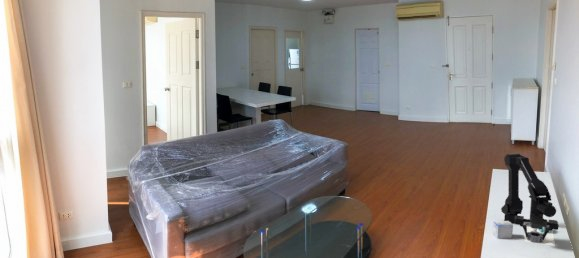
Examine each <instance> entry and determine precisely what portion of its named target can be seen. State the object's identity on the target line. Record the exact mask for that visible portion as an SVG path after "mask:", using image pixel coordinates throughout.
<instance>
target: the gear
mask: <svg viewBox="0 0 579 258" xmlns="http://www.w3.org/2000/svg"><path fill="white" fill-rule="evenodd" d="M527 240H529V241H531V242H536V243H535V244H537V243H539V242H543V234H540V233H539V232H533V231H531V232H527ZM531 242H530V243H531Z"/></svg>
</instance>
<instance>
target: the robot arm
mask: <svg viewBox="0 0 579 258" xmlns="http://www.w3.org/2000/svg"><path fill="white" fill-rule="evenodd" d="M503 160H504V164H505V166H506V168H507V170H508V195H507V197H506V199H505V201H504V205H503V206H502V207H501V208H500V210H501V213H502V214H503V215H504V219H503V221H509V222H511V223H512V224H513V225H514V224H515V225H518V226H520V227H522V228H523V232H524V231H525V235H526V237H527V226H528V225H527V224H530V227H531V228H536V229H542V227H545V228H544V233H543V240H544V238H545V237H546V235H547V233H548V232H549V231H550V230H551V231H558V230H559V227H560V226H559V222H558V220H557V219H556V220H555V219H546V218H544V216H545V217H547V218H552V217H554V216H555V215H556V213H557V208H556V207H555V206H554V205H553V202H551V201H552V198H551V197H552V196H551V193H550V191H549V188H548V187H547V185H546V184H545V182H544V181H542V180H541V179H539V177H538V176H537V174H536V172H535V170H534V168H533V167H532V165H531V163H530V161H529V160H530V159H529V157H526V156H525V155H522V154H520V153H507V154H505V156H504V159H503ZM520 170H521V172H522V174H523V175H524V177H525V180H526V181H527V183H528V185H527V189H528V190H527V191H528V192H529V196H528V198H530V209H529V218H525V216H523V215H521V214H522V212H523V208H524V207H523V205H524V203H523V202H524V201H523V200H521V198H520V196H519V195H520V194H519V192H520V188H519V185H520V184H519V183H520V179H519V173H520Z"/></svg>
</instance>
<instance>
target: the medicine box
mask: <svg viewBox="0 0 579 258" xmlns="http://www.w3.org/2000/svg"><path fill="white" fill-rule="evenodd" d="M513 227H514V224H512V223H511V222H509V221H504V220H500V221H498V220H497V221H493V230H492V231H493V232H492V235H493V236H494V237H495V238H496V239H509V238H510V239H512V238H513V230H514V229H513Z"/></svg>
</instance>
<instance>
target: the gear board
mask: <svg viewBox="0 0 579 258" xmlns="http://www.w3.org/2000/svg"><path fill="white" fill-rule="evenodd" d="M544 228H545V227H542V229H536V228H531V226H530V225H529V226H528V225H527V232H531V231H533V232H539V233H540V234H543V233H544ZM553 231H554V230H552V231H551V230H550V231H549V232H548V233H547V235H546V237H545V238H544V240H543V242H539V243H536V242H531V241H529V240H527V237H526V235H525V231H524V230H523V234H524V242H526V243H530V244H531V243H532V244H537V245H545V246H551V247H556V244H555V243H556V242H555V239H554V232H553Z"/></svg>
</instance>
